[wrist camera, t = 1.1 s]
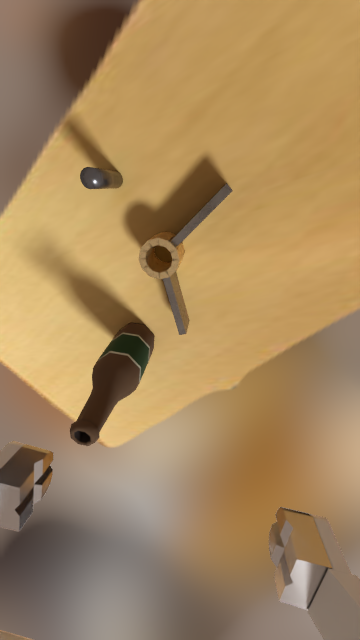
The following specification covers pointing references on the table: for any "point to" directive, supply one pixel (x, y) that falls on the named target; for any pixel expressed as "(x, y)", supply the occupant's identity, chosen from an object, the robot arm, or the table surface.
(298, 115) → the table surface
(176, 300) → the hinge
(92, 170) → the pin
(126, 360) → the beer bottle
